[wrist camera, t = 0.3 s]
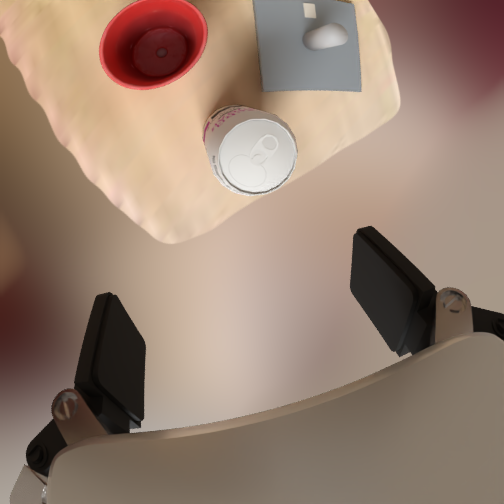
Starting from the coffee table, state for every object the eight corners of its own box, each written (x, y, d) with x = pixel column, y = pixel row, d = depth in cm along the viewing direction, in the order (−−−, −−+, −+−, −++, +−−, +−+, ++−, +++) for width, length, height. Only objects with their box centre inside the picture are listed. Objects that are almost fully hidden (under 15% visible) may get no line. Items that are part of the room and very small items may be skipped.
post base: (252, -5, 25) (267, -25, 18) (350, 5, 27) (381, -6, 20) (261, 91, 33) (280, 91, 26) (357, 91, 35) (390, 95, 28)
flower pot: (212, 75, 31) (219, 69, 22) (131, 102, 30) (112, 105, 22) (193, 8, 25) (195, -17, 17) (112, 36, 24) (89, 20, 16)
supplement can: (239, 172, 39) (266, 217, 26) (190, 141, 35) (191, 171, 22) (274, 127, 36) (320, 149, 24) (226, 93, 32) (249, 92, 20)
